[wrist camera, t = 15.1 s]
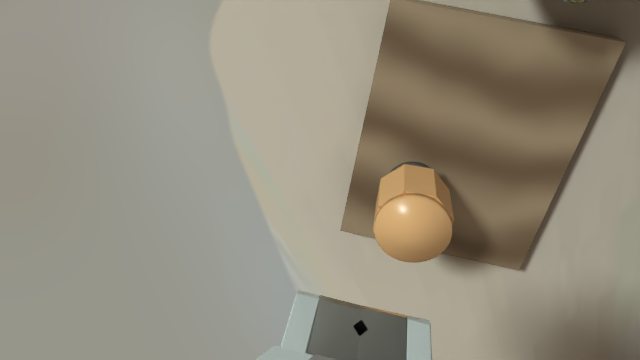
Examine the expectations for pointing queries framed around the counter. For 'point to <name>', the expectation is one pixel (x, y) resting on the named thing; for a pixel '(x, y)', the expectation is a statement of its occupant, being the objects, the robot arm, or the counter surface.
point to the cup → (576, 1)
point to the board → (479, 119)
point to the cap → (413, 214)
